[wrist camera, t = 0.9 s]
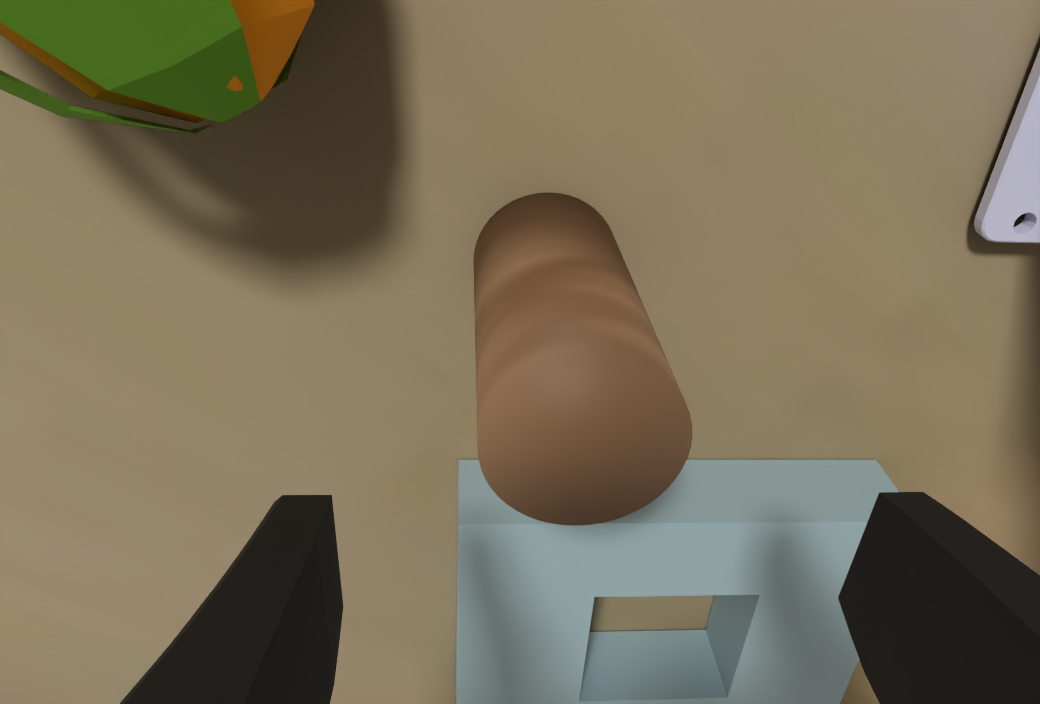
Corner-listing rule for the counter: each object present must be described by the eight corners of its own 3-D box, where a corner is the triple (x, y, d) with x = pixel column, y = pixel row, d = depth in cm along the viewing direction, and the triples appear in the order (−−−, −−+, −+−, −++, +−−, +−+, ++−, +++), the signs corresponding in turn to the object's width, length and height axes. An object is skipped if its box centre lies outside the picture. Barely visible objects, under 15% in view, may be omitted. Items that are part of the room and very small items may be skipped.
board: (875, 459, 22) (920, 521, 20) (793, 677, 27) (821, 745, 25) (458, 459, 21) (458, 524, 19) (456, 685, 26) (455, 756, 24)
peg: (625, 194, 17) (709, 356, 11) (608, 325, 19) (674, 525, 13) (474, 190, 17) (480, 353, 11) (472, 323, 19) (475, 525, 13)
